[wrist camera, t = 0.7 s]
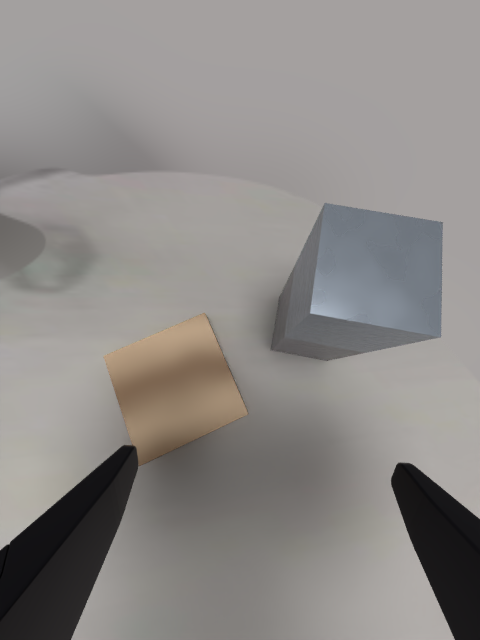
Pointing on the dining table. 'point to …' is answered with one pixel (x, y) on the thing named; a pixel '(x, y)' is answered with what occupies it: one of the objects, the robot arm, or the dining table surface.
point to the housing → (362, 285)
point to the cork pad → (174, 387)
